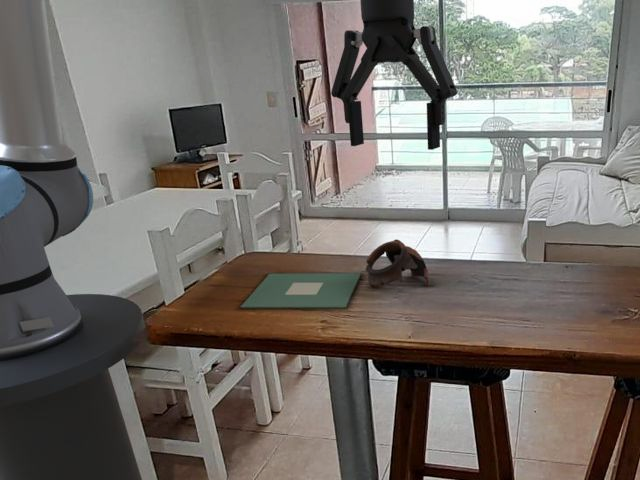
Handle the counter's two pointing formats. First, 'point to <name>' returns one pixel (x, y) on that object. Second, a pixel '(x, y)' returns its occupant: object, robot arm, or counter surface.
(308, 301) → the centre mat
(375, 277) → the broken pottery ring
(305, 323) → the counter surface
